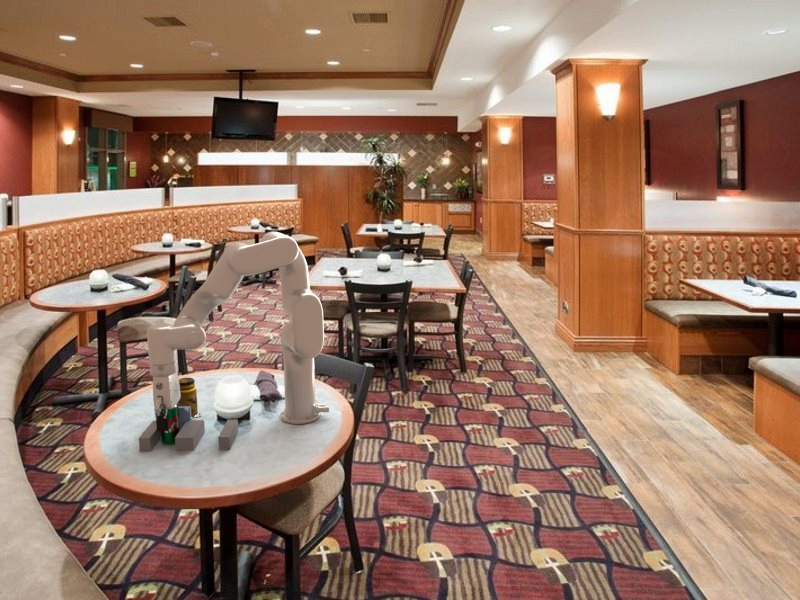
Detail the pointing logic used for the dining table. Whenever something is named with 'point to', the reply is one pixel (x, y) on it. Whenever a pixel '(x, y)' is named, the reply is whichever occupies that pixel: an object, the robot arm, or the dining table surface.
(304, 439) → the dining table surface
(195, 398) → the condiment
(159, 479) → the dining table surface
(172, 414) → the soda can
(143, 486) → the dining table surface
